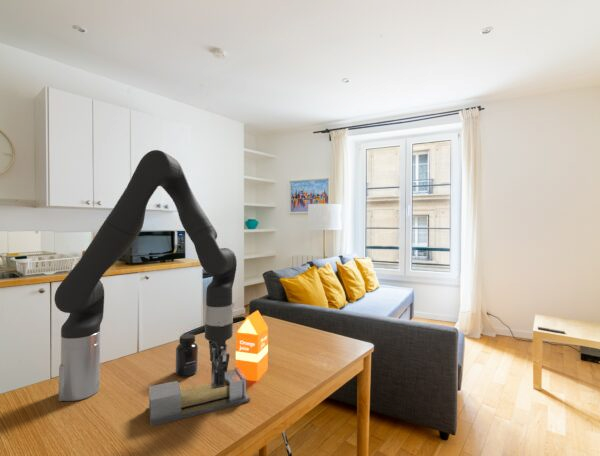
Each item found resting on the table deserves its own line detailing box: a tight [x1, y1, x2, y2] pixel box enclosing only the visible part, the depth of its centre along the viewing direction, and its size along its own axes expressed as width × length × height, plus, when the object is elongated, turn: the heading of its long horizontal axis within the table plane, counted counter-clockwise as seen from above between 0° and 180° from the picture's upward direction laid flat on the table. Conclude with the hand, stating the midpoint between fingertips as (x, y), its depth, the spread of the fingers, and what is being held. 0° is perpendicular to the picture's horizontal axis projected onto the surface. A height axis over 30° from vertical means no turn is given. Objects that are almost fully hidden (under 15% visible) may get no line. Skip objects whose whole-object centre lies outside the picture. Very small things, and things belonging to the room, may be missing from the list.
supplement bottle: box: [174, 333, 199, 378], centre depth 105 cm, size 7×7×12 cm
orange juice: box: [235, 310, 269, 382], centre depth 106 cm, size 8×9×20 cm
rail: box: [148, 366, 251, 427], centre depth 87 cm, size 25×9×6 cm, turn 118°
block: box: [180, 361, 229, 408], centre depth 88 cm, size 16×4×9 cm, turn 118°
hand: (218, 381), depth 89 cm, fingers closed on block, 3 cm apart
